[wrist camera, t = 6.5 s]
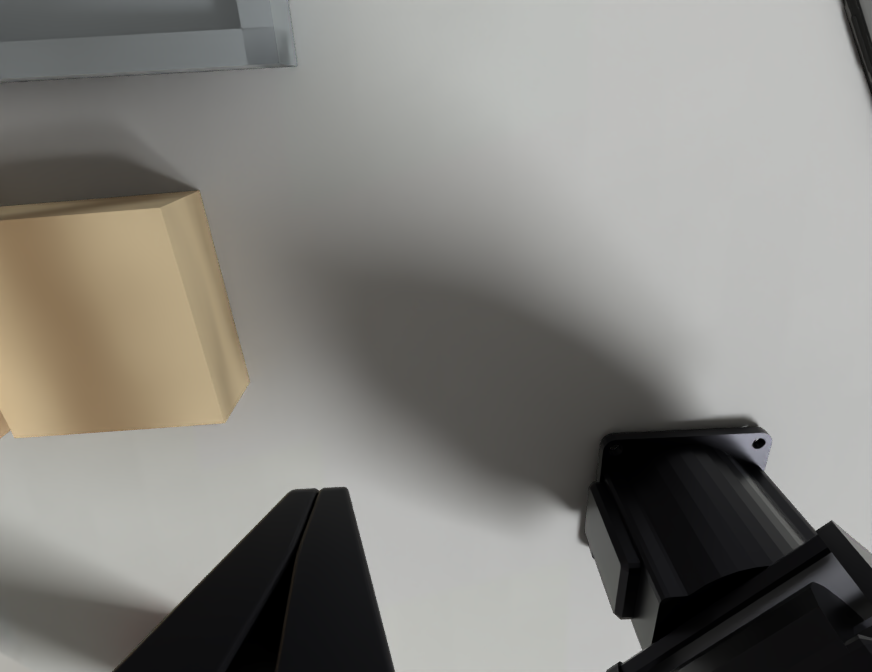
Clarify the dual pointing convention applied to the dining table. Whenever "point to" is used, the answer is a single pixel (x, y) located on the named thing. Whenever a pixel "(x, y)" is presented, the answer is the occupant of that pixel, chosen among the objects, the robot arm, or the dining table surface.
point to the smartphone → (862, 31)
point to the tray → (141, 37)
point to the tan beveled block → (114, 317)
